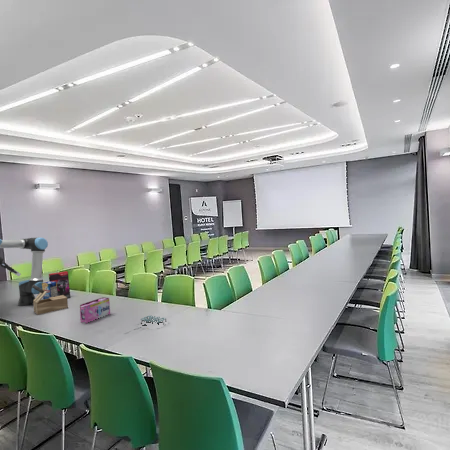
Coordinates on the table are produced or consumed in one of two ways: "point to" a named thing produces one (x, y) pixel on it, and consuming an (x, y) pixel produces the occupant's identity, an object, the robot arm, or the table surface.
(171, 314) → the table surface
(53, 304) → the carton
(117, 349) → the table surface
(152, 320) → the grey bumpy mound
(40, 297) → the flap
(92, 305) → the gum box
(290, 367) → the table surface
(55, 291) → the beverage box
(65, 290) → the graphics card box
